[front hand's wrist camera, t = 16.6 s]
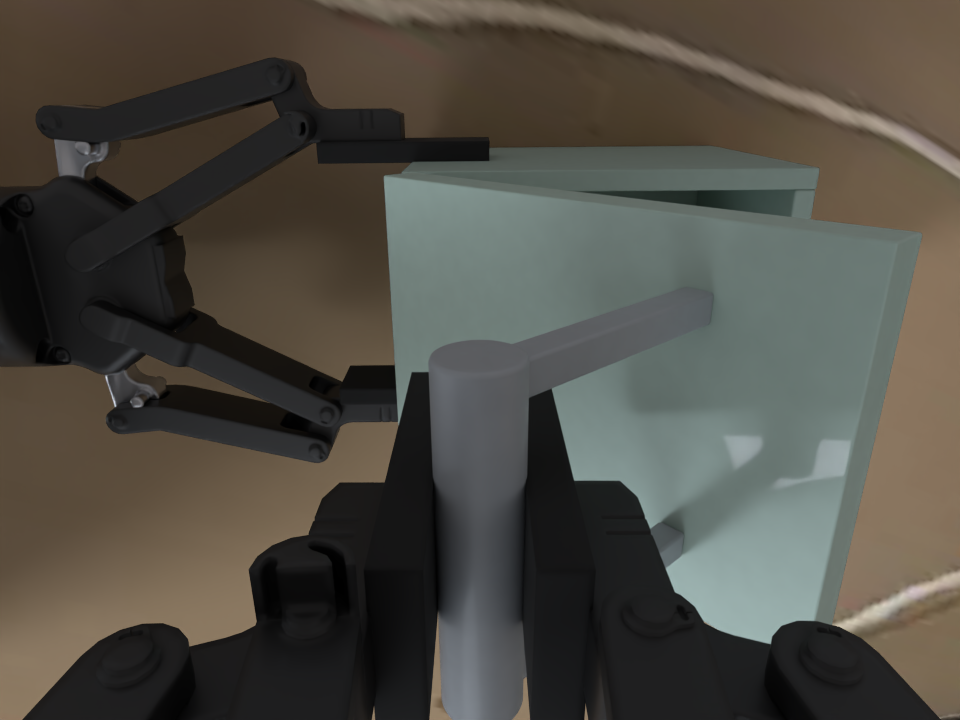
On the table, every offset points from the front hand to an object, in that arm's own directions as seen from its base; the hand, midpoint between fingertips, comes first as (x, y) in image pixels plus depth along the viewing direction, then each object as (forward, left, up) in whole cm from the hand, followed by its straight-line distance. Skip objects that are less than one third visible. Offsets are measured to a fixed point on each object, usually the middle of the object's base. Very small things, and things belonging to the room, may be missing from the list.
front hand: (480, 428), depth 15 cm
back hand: (0, 0, -14) cm, 14 cm away
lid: (-3, -1, -4) cm, 5 cm away
